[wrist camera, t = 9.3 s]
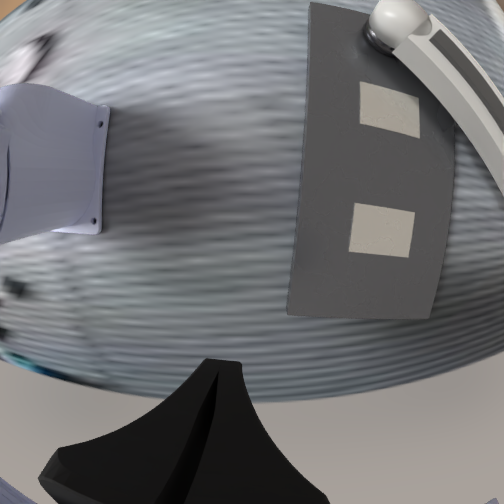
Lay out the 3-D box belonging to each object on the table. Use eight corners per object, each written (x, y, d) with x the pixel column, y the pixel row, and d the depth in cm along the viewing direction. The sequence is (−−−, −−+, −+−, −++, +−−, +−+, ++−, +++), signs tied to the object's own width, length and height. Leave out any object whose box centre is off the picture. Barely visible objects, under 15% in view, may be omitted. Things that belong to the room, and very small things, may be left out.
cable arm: (357, 24, 12) (371, 1, 9) (385, 2, 11) (399, -18, 8) (520, 232, 14) (543, 238, 11) (535, 199, 13) (557, 202, 11)
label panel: (308, 10, 14) (312, -7, 12) (436, 47, 14) (450, 37, 12) (286, 307, 19) (288, 322, 17) (421, 312, 19) (435, 325, 16)
